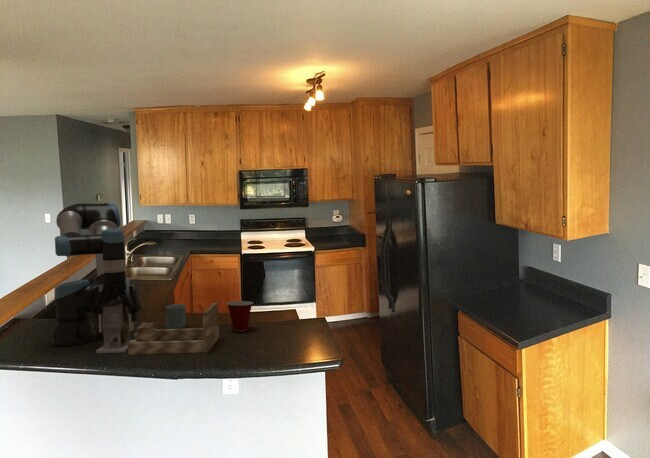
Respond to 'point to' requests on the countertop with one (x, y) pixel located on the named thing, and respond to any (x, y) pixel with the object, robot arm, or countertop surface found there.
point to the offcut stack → (146, 333)
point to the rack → (182, 337)
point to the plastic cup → (239, 314)
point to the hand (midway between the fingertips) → (116, 330)
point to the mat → (114, 349)
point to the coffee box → (115, 324)
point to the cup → (176, 316)
